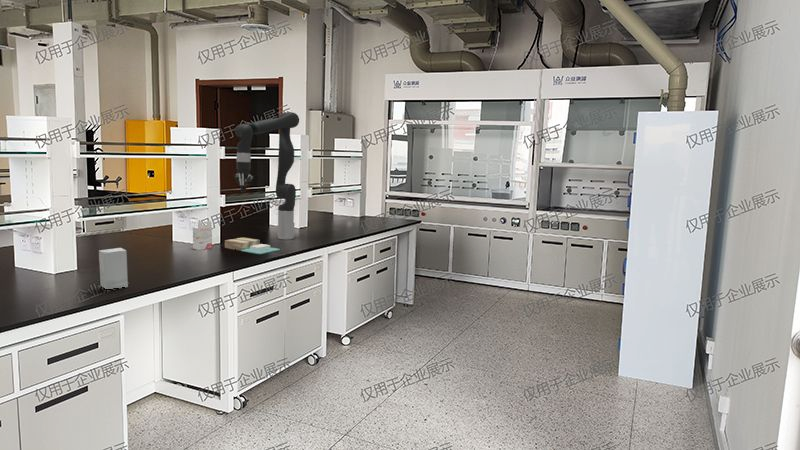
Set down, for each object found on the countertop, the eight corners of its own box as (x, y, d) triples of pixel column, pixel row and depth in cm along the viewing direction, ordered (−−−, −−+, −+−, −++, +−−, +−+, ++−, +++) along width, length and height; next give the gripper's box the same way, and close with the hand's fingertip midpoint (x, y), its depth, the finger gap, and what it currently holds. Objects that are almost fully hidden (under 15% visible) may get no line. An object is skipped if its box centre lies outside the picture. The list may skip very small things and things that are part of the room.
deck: (243, 244, 312) (243, 237, 311) (259, 247, 306) (259, 239, 306) (224, 247, 299) (224, 240, 299) (241, 250, 294) (241, 243, 293)
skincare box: (122, 284, 217) (121, 247, 215) (128, 287, 213) (127, 249, 211) (99, 287, 211) (98, 249, 209) (105, 291, 207) (104, 252, 205)
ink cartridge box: (206, 246, 299) (206, 219, 297) (212, 248, 296) (212, 221, 294) (192, 248, 293) (192, 221, 291) (197, 250, 290) (197, 222, 288)
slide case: (270, 245, 300) (270, 248, 300) (261, 243, 302) (261, 247, 303) (258, 247, 292) (258, 251, 292) (250, 246, 294) (250, 249, 295)
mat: (261, 246, 307) (261, 245, 307) (280, 249, 301) (280, 248, 301) (241, 251, 293) (241, 250, 293) (260, 254, 287) (260, 253, 287)
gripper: (257, 161, 310) (257, 192, 312) (239, 160, 316) (239, 190, 318) (248, 161, 303) (247, 193, 305) (229, 160, 309) (229, 191, 311)
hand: (243, 192), depth 312 cm, fingers closed
